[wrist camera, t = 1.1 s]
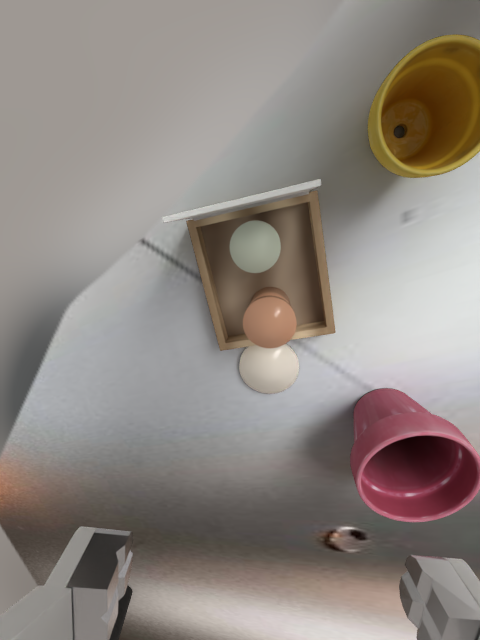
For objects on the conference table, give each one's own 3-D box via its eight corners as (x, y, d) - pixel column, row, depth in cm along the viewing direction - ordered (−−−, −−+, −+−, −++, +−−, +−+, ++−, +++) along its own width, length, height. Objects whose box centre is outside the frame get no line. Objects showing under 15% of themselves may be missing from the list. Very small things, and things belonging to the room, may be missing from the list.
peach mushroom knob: (289, 279, 42) (291, 293, 35) (296, 323, 44) (300, 344, 37) (243, 288, 43) (237, 303, 37) (252, 330, 45) (248, 351, 39)
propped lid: (307, 186, 36) (320, 178, 25) (308, 194, 36) (322, 189, 26) (193, 213, 38) (161, 216, 28) (195, 220, 39) (164, 226, 28)
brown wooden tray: (314, 191, 38) (317, 190, 36) (331, 324, 44) (335, 332, 41) (192, 219, 41) (186, 220, 38) (223, 342, 47) (220, 350, 44)
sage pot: (275, 214, 39) (275, 215, 34) (283, 259, 41) (284, 267, 36) (231, 224, 40) (224, 227, 35) (241, 267, 42) (235, 277, 37)
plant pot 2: (408, 459, 51) (448, 537, 39) (324, 436, 51) (339, 507, 39) (449, 386, 45) (511, 451, 34) (356, 362, 46) (384, 417, 34)
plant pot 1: (346, 183, 38) (368, 176, 29) (357, 80, 34) (386, 35, 25) (436, 182, 37) (488, 175, 28) (457, 77, 33) (526, 28, 24)
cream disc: (293, 334, 45) (293, 336, 45) (302, 386, 48) (303, 389, 47) (233, 343, 47) (233, 345, 46) (246, 394, 50) (245, 397, 49)
